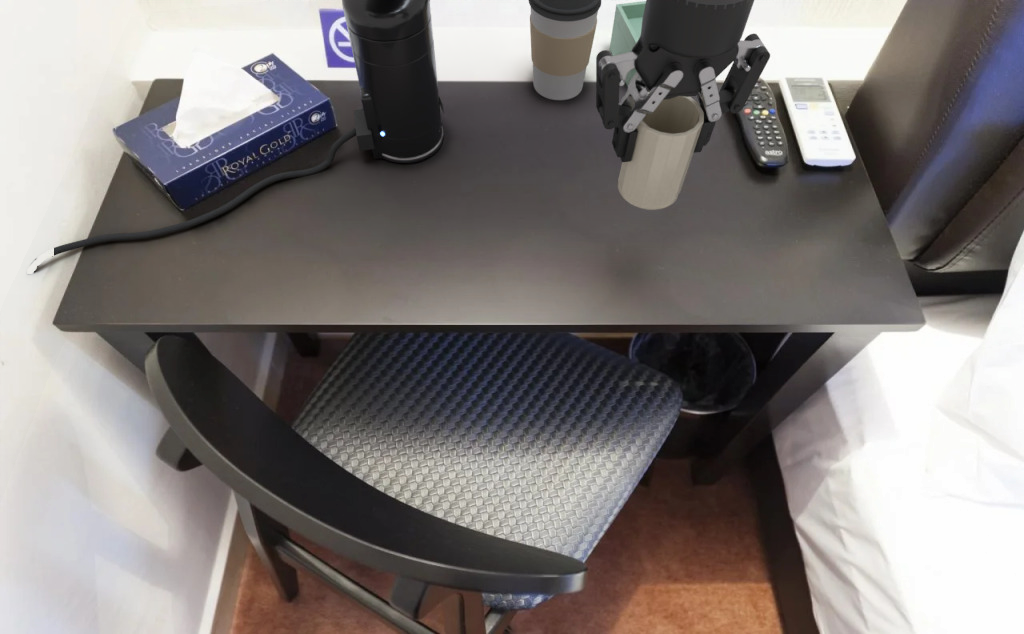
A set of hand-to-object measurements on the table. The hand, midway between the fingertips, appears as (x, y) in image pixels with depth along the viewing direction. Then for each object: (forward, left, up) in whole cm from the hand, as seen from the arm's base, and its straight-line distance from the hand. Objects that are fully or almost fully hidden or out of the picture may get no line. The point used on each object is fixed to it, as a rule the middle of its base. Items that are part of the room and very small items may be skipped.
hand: (657, 150), depth 61 cm
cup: (0, 0, -5) cm, 5 cm away
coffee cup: (0, +33, -18) cm, 38 cm away
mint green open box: (+14, +35, -18) cm, 42 cm away
